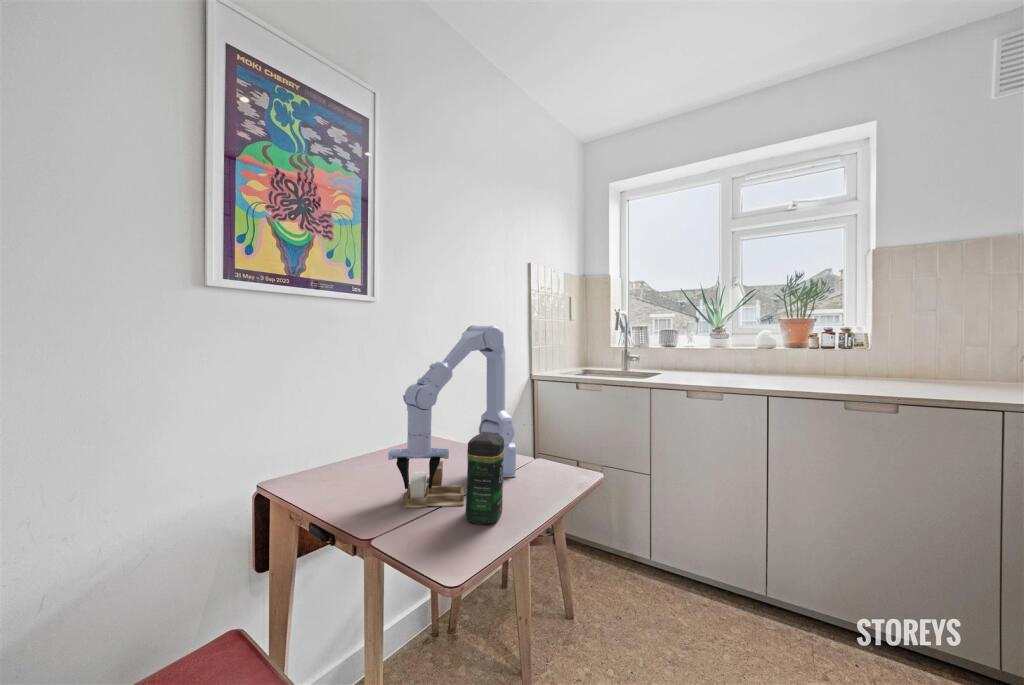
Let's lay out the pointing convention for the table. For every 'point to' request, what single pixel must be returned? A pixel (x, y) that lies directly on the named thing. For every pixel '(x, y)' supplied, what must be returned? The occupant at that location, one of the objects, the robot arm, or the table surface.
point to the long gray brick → (418, 485)
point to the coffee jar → (485, 478)
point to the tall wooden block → (438, 475)
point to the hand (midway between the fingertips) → (418, 487)
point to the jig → (437, 497)
